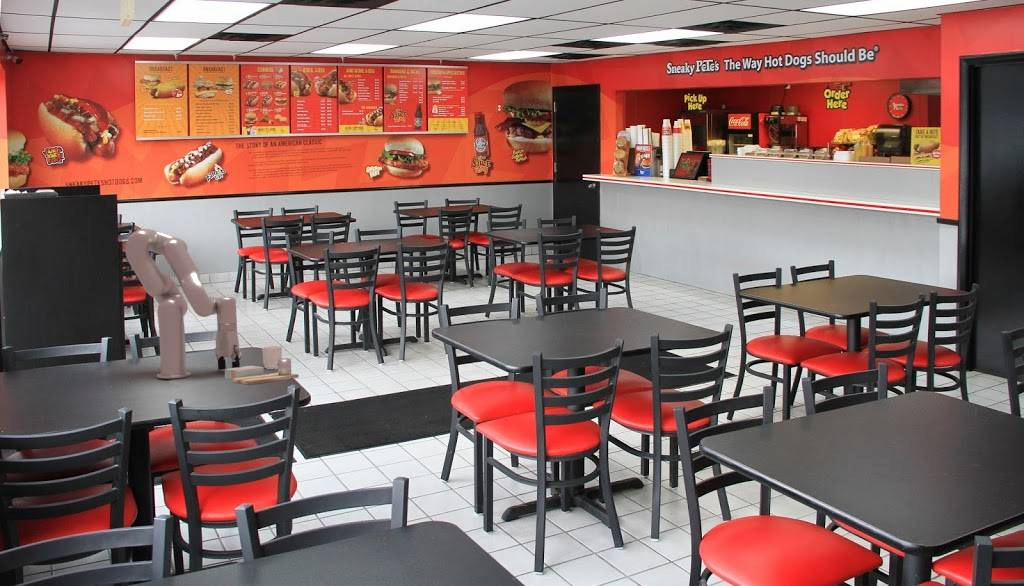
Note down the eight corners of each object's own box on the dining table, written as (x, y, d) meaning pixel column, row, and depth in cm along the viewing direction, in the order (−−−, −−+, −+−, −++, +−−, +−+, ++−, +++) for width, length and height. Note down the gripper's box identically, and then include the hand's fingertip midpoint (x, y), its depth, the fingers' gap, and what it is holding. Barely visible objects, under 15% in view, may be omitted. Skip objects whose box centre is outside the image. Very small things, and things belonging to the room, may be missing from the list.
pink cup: (264, 370, 404) (263, 346, 404) (283, 369, 405) (283, 345, 405) (261, 372, 397) (260, 348, 396) (281, 372, 397) (280, 347, 397)
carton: (224, 379, 381) (224, 369, 381) (251, 375, 390) (251, 365, 390) (237, 381, 376) (237, 370, 375) (263, 377, 385) (263, 367, 384)
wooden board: (232, 381, 373) (231, 378, 373) (280, 375, 389) (280, 372, 389) (250, 384, 365) (250, 381, 365) (298, 377, 381) (298, 374, 381)
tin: (275, 374, 381) (275, 359, 380) (285, 373, 385) (285, 358, 384) (283, 376, 378) (283, 360, 377) (294, 374, 382) (293, 359, 381)
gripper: (206, 327, 392) (208, 370, 393) (231, 329, 381) (233, 373, 382) (223, 326, 398) (224, 367, 399) (248, 328, 386) (249, 370, 387)
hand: (228, 370), depth 390 cm, fingers open, 9 cm apart
